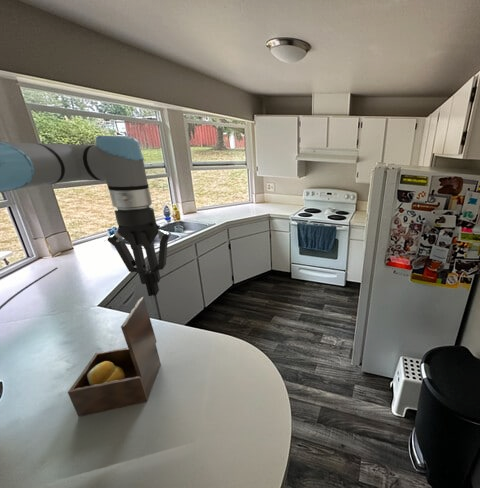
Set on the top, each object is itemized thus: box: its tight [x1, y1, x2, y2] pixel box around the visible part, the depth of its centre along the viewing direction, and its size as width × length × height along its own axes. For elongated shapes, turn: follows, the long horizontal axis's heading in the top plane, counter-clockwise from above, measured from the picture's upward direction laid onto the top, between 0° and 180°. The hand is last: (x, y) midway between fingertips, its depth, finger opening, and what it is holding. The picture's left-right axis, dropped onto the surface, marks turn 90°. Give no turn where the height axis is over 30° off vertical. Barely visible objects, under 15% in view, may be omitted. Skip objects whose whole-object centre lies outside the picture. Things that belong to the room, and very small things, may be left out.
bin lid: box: [120, 296, 158, 377], centre depth 70 cm, size 17×14×1 cm
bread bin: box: [67, 343, 162, 418], centre depth 72 cm, size 16×14×9 cm
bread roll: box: [87, 361, 125, 386], centre depth 71 cm, size 8×9×4 cm
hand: (153, 293), depth 67 cm, fingers closed
